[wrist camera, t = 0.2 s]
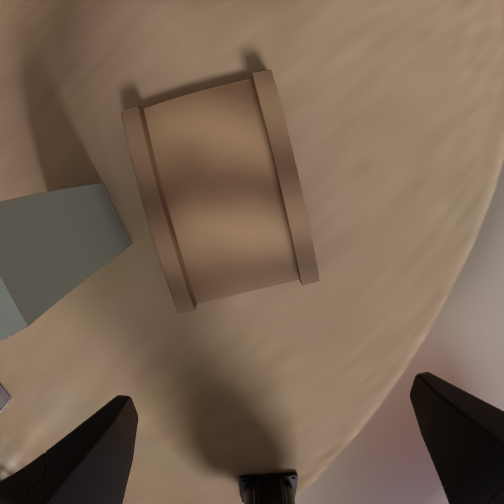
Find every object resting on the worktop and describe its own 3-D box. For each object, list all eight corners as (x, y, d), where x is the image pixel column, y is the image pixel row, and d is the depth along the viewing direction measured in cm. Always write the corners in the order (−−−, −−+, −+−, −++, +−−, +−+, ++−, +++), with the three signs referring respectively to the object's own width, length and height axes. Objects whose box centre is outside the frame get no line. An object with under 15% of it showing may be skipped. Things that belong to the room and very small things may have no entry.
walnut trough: (314, 271, 23) (320, 280, 21) (181, 302, 23) (176, 313, 21) (270, 77, 19) (272, 69, 17) (129, 116, 19) (119, 112, 18)
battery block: (132, 243, 22) (16, 336, 9) (83, 270, 22) (-33, 362, 9) (103, 182, 21) (-42, 212, 7) (55, 214, 21) (-81, 266, 8)
